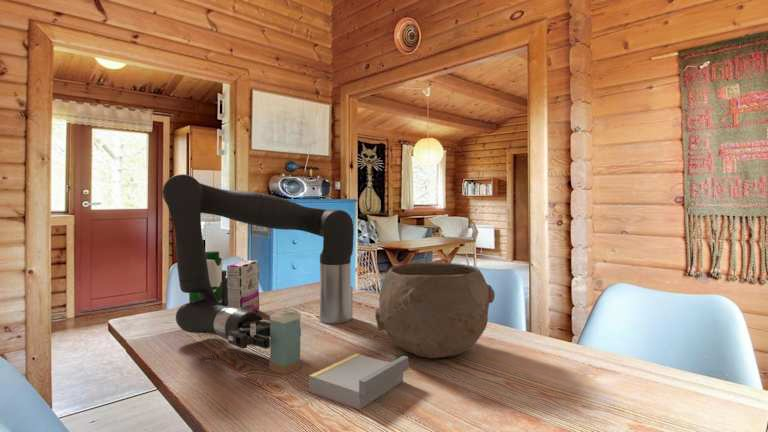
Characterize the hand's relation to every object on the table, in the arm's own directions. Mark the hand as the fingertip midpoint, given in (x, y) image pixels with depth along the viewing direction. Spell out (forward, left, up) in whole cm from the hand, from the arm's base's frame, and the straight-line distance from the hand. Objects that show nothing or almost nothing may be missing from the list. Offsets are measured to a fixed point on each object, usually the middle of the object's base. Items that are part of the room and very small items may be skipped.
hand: (284, 337), depth 89 cm
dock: (-2, +18, -7) cm, 19 cm away
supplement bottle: (-24, -60, -7) cm, 65 cm away
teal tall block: (0, 0, -7) cm, 7 cm away
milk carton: (-14, -52, -7) cm, 54 cm away
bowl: (-27, +21, -7) cm, 35 cm away
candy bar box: (-22, -44, -7) cm, 50 cm away
